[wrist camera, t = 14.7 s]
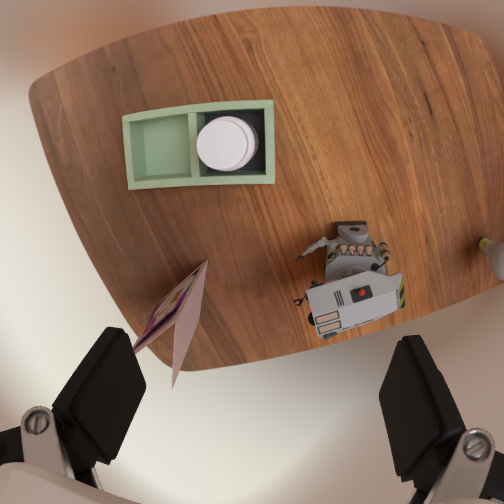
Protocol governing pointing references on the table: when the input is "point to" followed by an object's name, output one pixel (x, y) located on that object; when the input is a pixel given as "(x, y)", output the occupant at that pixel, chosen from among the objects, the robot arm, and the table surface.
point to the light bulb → (494, 256)
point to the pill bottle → (227, 143)
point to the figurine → (352, 282)
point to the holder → (193, 145)
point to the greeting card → (177, 316)
